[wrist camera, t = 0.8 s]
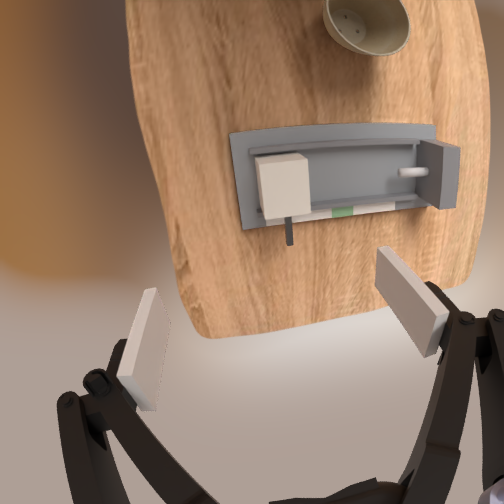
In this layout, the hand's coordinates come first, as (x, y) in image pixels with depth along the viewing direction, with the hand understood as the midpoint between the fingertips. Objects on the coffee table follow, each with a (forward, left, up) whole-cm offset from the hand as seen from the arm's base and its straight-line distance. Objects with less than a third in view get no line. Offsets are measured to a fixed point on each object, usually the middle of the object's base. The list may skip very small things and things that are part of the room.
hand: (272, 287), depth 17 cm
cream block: (+1, +4, -21) cm, 21 cm away
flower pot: (-20, +15, -22) cm, 33 cm away
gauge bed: (-1, +13, -22) cm, 25 cm away
